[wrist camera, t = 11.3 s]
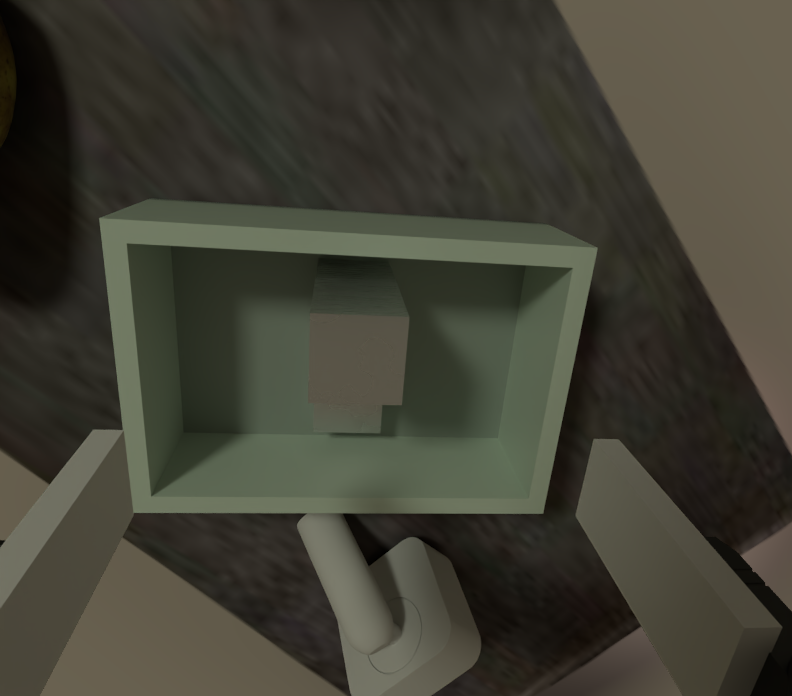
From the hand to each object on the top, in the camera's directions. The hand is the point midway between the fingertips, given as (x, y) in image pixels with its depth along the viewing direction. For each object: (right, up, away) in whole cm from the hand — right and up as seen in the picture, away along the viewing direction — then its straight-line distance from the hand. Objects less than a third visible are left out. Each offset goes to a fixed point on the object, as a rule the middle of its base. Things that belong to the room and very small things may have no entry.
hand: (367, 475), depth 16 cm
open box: (-2, +4, +18) cm, 19 cm away
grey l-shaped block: (-2, +4, +18) cm, 18 cm away
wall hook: (-1, -11, +24) cm, 27 cm away
